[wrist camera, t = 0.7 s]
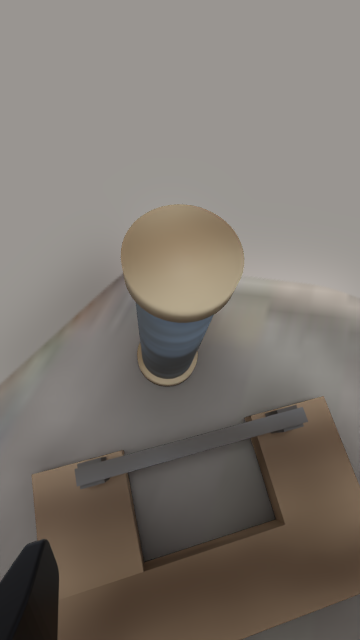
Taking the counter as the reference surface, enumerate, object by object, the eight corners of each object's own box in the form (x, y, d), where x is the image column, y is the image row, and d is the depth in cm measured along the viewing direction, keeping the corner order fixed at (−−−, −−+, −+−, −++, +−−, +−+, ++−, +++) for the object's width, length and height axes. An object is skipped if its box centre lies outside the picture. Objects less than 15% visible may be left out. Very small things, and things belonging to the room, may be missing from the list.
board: (378, 569, 19) (439, 602, 15) (61, 688, 16) (31, 767, 12) (313, 399, 22) (347, 388, 18) (40, 472, 20) (11, 479, 16)
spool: (206, 369, 23) (267, 279, 11) (154, 397, 22) (156, 332, 10) (178, 321, 24) (205, 189, 12) (128, 345, 23) (100, 229, 11)
